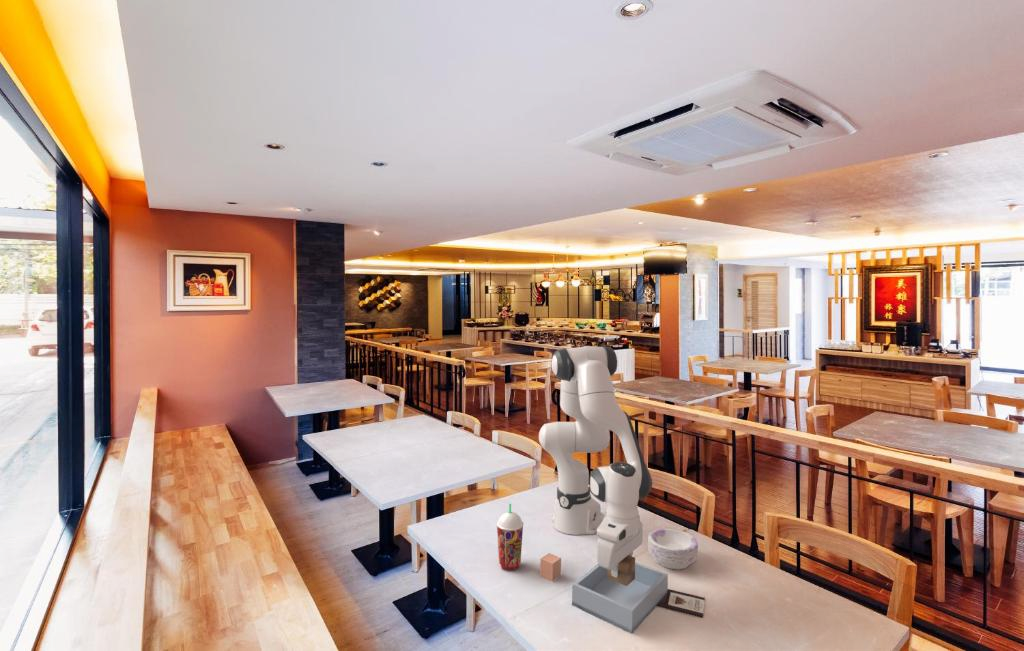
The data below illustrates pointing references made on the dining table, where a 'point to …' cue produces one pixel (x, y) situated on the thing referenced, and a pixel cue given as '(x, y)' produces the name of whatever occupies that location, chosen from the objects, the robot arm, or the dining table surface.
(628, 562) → the walnut block
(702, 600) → the chocolate bar
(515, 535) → the smoothie
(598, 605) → the tote
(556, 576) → the terracotta box
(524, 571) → the dining table surface
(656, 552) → the paper bowls
